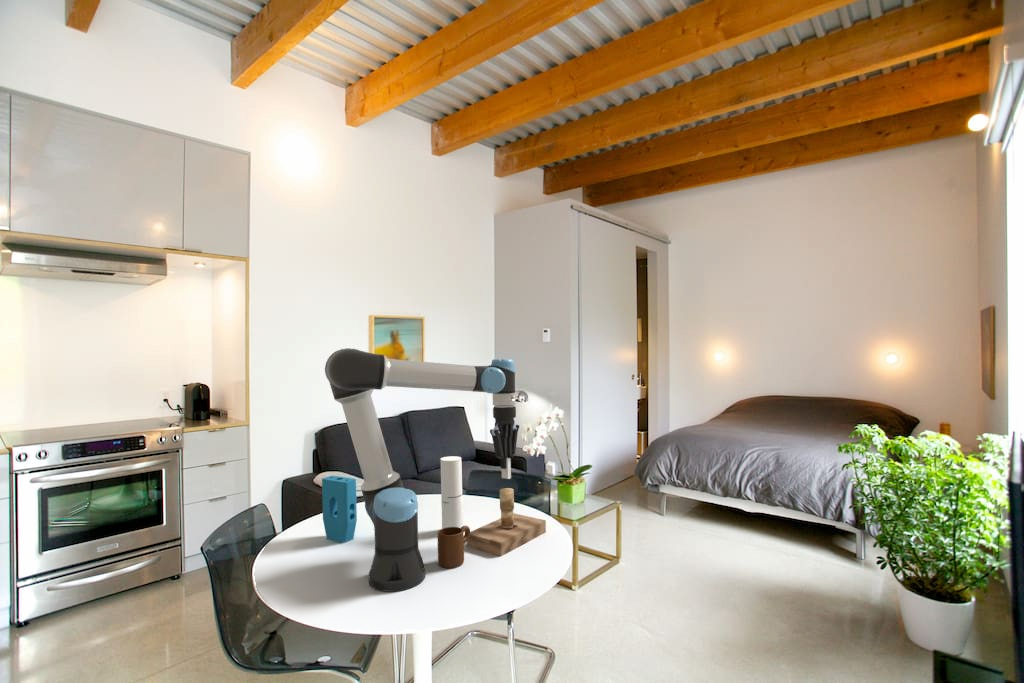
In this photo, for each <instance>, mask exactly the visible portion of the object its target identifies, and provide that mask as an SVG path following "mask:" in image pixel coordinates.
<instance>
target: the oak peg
mask: <svg viewBox="0 0 1024 683" xmlns="http://www.w3.org/2000/svg"><path fill="white" fill-rule="evenodd" d="M514 495H515V491H514V489H513V488H510V487H506V488H505V487H504V488H500V489H499V509H500V518H501V524H502V529H504V530H508V531H509V530H511V529H513V524H514V521H513V513H514V509H515V496H514Z"/></svg>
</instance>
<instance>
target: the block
mask: <svg viewBox="0 0 1024 683" xmlns="http://www.w3.org/2000/svg"><path fill="white" fill-rule="evenodd" d="M321 489H322V490H321V493H322V494H321V495H322V497H321V498H322V502H321V503H322V520H323V521H322V522H323V526H324V532H325V536H326V540H328V541H331V542H334V543H339V544H346V543H347V542H350V541H352V540H354V538H355V533H356V526H357V520H358V515H357V514H358V512H357V479H356V478H352V477H346V476H338V475H329V476H326V477H322V478H321Z"/></svg>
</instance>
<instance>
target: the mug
mask: <svg viewBox="0 0 1024 683" xmlns="http://www.w3.org/2000/svg"><path fill="white" fill-rule="evenodd" d="M470 532H471V529H470V527H469V526H468V525H463V526H462V527H461V528H458V527H447V528H443V529H442V528H440V529H439V530H438V531H437V560H438V561H437V563H438V564H439V566H440V567H441V568H446V569H454V568H458V567H460V566H462V565H463V564H464V561H465V543H466V544H467V541H468V539H469V537H470Z"/></svg>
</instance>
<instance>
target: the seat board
mask: <svg viewBox="0 0 1024 683" xmlns="http://www.w3.org/2000/svg"><path fill="white" fill-rule="evenodd" d="M513 521H514V524H513V529H511V530H509V531H508V530H504V529H502V524H501V517H499V519H496V520H494V521H492V522H490V523H486V524H485V525H482V526H480V527H478V528H476V529H474V530H470V537H469V539H468V541H467V542H466V546H467V547H468V548H471V549H476V550H478V551H482V552H486V553H489V554H493V555H496V556H500V557H503V556H504V555H506V554H508V553H510V552H512V551H514V550H516V549H517V548H519V547H521V546H523V545H525V544H527V543H528V542H530V541H532V540H534V539H536V538H538V537H540V536H541V535H543V534H546V532H547V526H546V524H547V522H546V520H545V519H540V518H536V517H532V516H527V515H522V514H519V513H514V512H513Z"/></svg>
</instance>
